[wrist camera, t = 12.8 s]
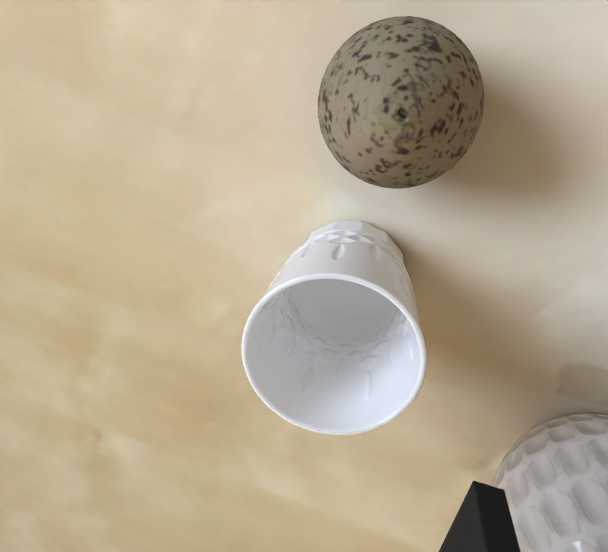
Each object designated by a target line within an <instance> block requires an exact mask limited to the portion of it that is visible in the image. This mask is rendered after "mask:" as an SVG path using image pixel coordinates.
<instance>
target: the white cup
mask: <svg viewBox="0 0 608 552" xmlns="http://www.w3.org/2000/svg"><path fill="white" fill-rule="evenodd" d="M242 360H243V365H244V369H245V372H246V375H247V377H248V379H249V381H250V383H251V385H252V387H253V389H254V390H255V392H256V393H257V395H258V396H259V397H260V398H261V400H262V401H263V402H264V403H265V404H266V405H267V406H268V407H269V408H270V409H271V410H273V411H274V412H275V413H276V414H278V415H279V416H281V417H282V418H284V419H285V420H287V421H289V422H291V423H292V424H295V425H297V426H299V427H301V428H304V429H307V430H310V431H314V432H318V433H323V434H331V435H351V434H358V433H363V432H367V431H371V430H374V429H376V428H379V427H381V426H383V425H385V424H387V423H389V422H391V421H392V420H394V419H395V418H397V417H398V416H399V415H401V414H402V413H403V412H404V411H405V410H406V409H407V408H408V407H409V406H410V405H411V403H412V402H413V401H414V399H415V398H416V396H417V394H418V393H419V391H420V389H421V386H422V384H423V381H424V377H425V373H426V366H427V353H426V346H425V341H424V337H423V333H422V328H421V323H420V319H419V314H418V309H417V305H416V300H415V296H414V291H413V288H412V284H411V281H410V277H409V274H408V272H407V270H406V268H405V265H404V260H403V255H402V252H401V251H400V250H399V248H398V247H397V246H396V244H395V243H394V242H393V241H392V239H391V238H390V237H389V236H388V234H387V233H386V232H384V231H382V230H380V229H378V228H376V227H374V226H372V225H370V224H368V223H365V222H363V221H334V222H332V223H330V224H327V225H325V226H323V227H321V228H318V229H316V230H314V231H313V232H312V233H311V234H310V235H309V236H308V238H307V239H306V240H305V241H304V242H303V244H302V245H301V246H300V247H299V248H298V249H297V250H296V251H295V252H294V253H293V254H292V255H291V257H290V258H289V259H288V260H287V262H286V263H285V265H284V266H283V267H282V269H281V270H280V271H279V272H278V274H277V275H276V277H275V278H274V280H273V281H272V283H271V284H270V286H269V287H268V289H267V290H266V292H265V293H264V295H263V296H262V298H261V299H260V301H259V302H258V303H257V305H256V306H255V308H254V309H253V311H252V312H251V314H250V316H249V318H248V320H247V322H246V325H245V328H244V332H243V337H242Z"/></svg>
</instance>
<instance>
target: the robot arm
mask: <svg viewBox="0 0 608 552" xmlns="http://www.w3.org/2000/svg"><path fill="white" fill-rule="evenodd" d="M439 552H521V551H520V548H519V544H518V540H517V536H516V532H515V529H514V525H513V521H512V517H511V513H510V510H509V506H508V502H507V498H506V494H505V491H504V489H500V488H497V487H493V486H490V485H486V484H483V483H479V482H476V481H473V482H472V485H471V487H470V489H469V491H468V493H467V495H466V497H465V499H464V501H463V503H462V505H461V507H460V509H459V511H458V513H457V515H456V517H455V519H454V521H453V524H452V526H451V528H450V530H449V532H448V534H447V536H446V538H445V540H444V542H443V544H442V546H441V548H440V550H439Z"/></svg>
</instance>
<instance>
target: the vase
mask: <svg viewBox="0 0 608 552" xmlns="http://www.w3.org/2000/svg"><path fill="white" fill-rule="evenodd" d="M491 486H493V487H497V488H500V489H504V491H505V494H506V498H507V502H508V506H509V510H510V513H511V517H512V521H513V525H514V529H515V532H516V536H517V540H518V544H519V548H520V551H521V552H608V415H604V414H594V413H581V414H571V415H566V416H561V417H557V418H554V419H551V420H548V421H546V422H544V423H542V424H539V425H537V426H535V427H534V428H532V429H531V430H529V431H528V432H526V433H525V434H524V435H523V436H522V437H521V438H519V439H518V440H517V441H516V443H515V444H514V445H513V446H512V448H511V449H510V450H509V452H508V453H507V454H506V456H505V457H504V459H503V460H502V462H501V464H500V466H499V468H498V470H497V472H496V475H495V477H494V479H493V482H492V484H491Z"/></svg>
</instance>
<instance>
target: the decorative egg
mask: <svg viewBox="0 0 608 552" xmlns="http://www.w3.org/2000/svg"><path fill="white" fill-rule="evenodd" d="M483 106H484V90H483V82H482V77H481V74H480V71H479V68H478V65H477V63H476V61H475V59H474V57H473V55H472V54H471V52H470V51H469V49H468V48H467V46H466V45H465V44H464V43H463V42H462V40H461V39H459V38H458V37H457V36H456V35H455V34H454V33H453V32H451V31H450V30H448V29H447V28H445V27H444V26H442V25H440V24H438V23H435V22H433V21H431V20H427V19H423V18H418V17H411V16H407V17H392V18H387V19H383V20H380V21H377V22H374V23H371V24H370V25H368V26H366V27H364V28H362V29H361V30H359V31H358V32H356V33H355V34H353V36H351V37H350V38H349V39H348V40H347V41H346V42H345V43H344V44H343V45H342V46H341V47H340V49H339V50H338V51H337V52H336V54H335V55H334V57H333V58H332V60H331V61H330V63H329V65H328V67H327V69H326V72H325V74H324V76H323V79H322V82H321V86H320V91H319V97H318V117H319V123H320V128H321V132H322V135H323V137H324V140H325V142H326V144H327V146H328V148H329V150H330V151H331V153H332V154H333V156H334V157H335V158H336V160H337V161H338V162H339V163H340V164H341V165H342V166H343V167H344V168H345V169H346V170H347V171H348V172H350V173H351V174H353V175H354V176H356V177H357V178H359V179H361V180H363V181H365V182H367V183H370V184H373V185H376V186H380V187H386V188H408V187H414V186H418V185H421V184H424V183H427V182H429V181H431V180H433V179H435V178H437V177H439V176H440V175H442V174H443V173H445V172H446V171H448V170H449V169H450V168H452V167H453V166H454V165H455V164H456V163H457V162H458V161H459V160H460V159H461V158H462V157H463V155H464V154H465V153H466V151H467V150H468V148H469V147H470V145H471V144H472V142H473V140H474V138H475V136H476V134H477V131H478V128H479V126H480V122H481V119H482V115H483Z"/></svg>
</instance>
